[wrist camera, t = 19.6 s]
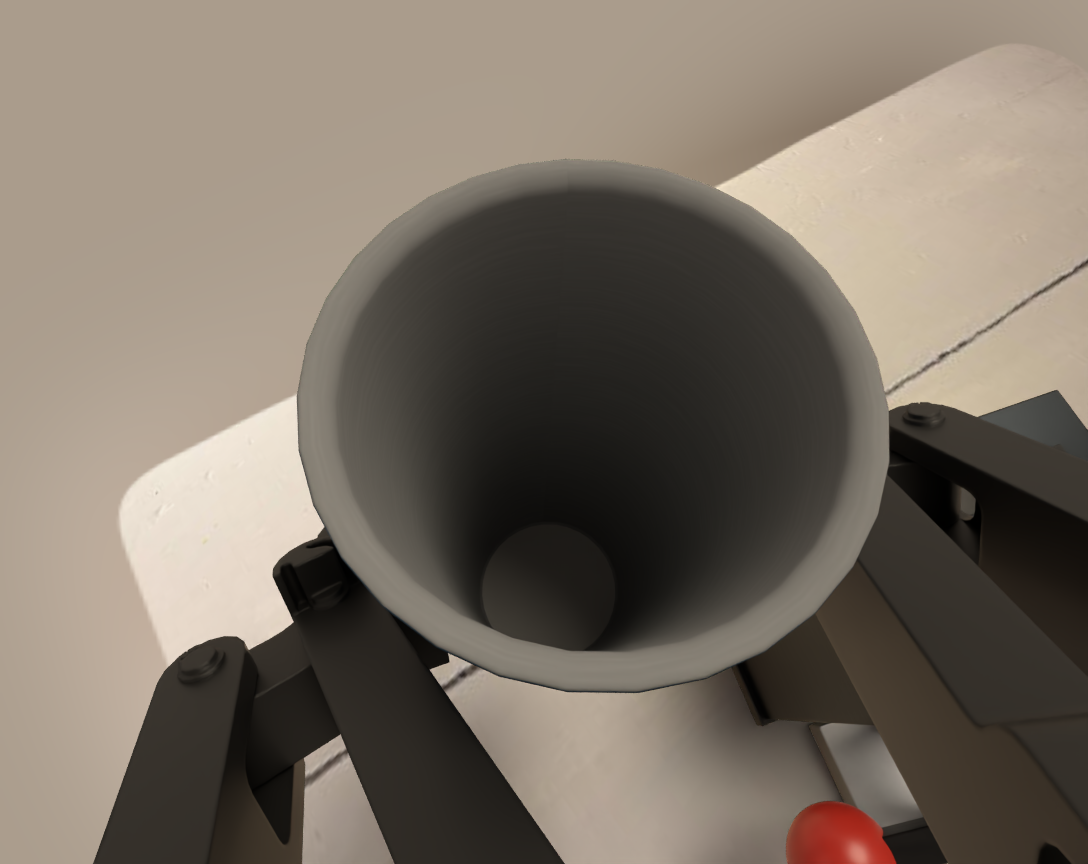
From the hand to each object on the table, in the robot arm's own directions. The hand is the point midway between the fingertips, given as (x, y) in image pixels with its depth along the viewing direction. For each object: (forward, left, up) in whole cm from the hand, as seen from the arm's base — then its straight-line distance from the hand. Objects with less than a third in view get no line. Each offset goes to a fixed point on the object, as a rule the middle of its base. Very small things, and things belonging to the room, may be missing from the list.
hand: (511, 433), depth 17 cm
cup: (0, -4, -6) cm, 7 cm away
